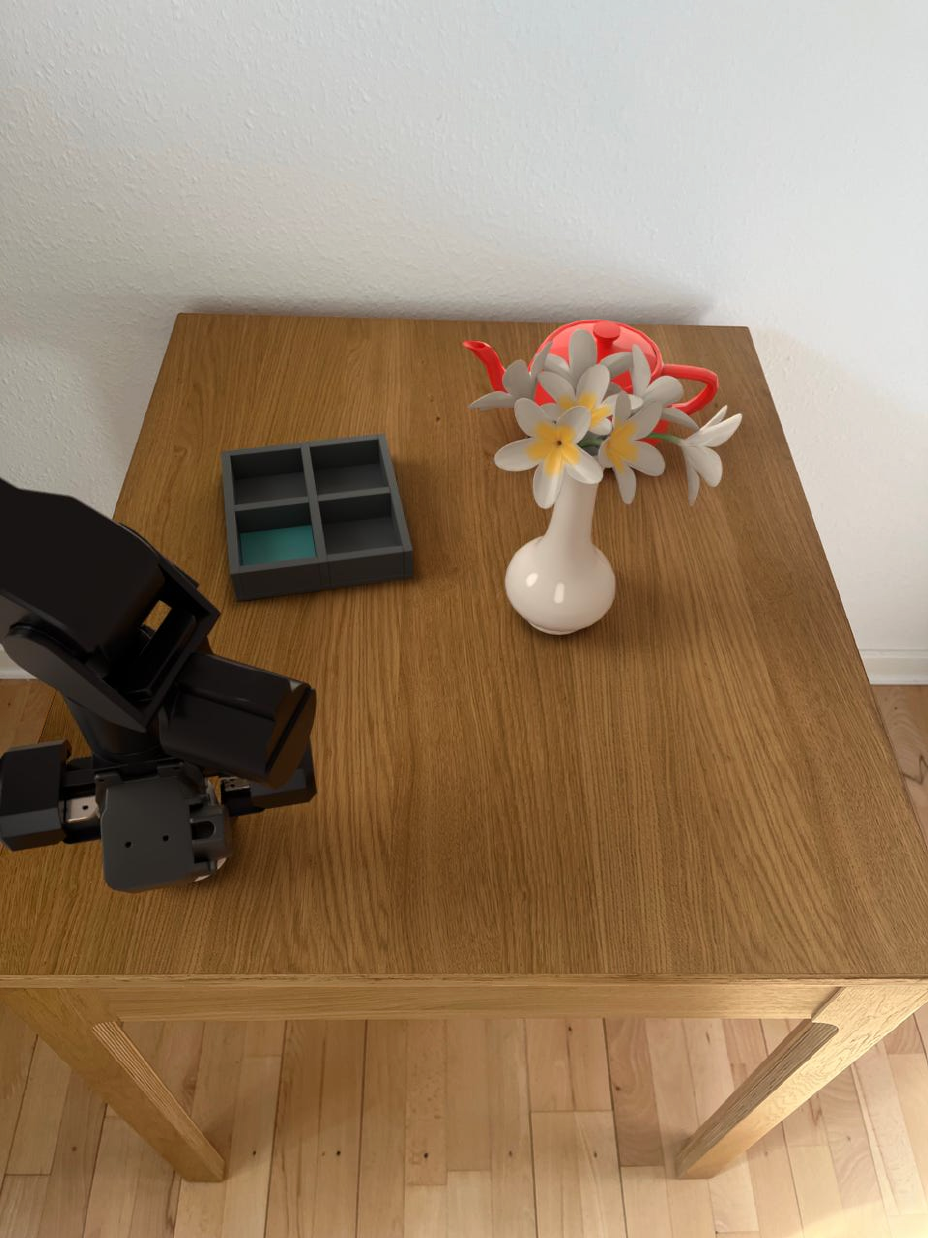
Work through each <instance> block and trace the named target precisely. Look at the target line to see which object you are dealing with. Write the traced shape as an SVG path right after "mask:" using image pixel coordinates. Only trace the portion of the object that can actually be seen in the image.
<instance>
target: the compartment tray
mask: <svg viewBox="0 0 928 1238" xmlns="http://www.w3.org/2000/svg"><path fill="white" fill-rule="evenodd" d="M220 459H221V473H222V485H223V487H222V488H223V500H224V511H225V526H226V538H227V552H228V553H227V554H228V563H229V564H228V566H229V577H230V580H231V584H232V588H233V592H234V596H235V601H236V602H242V601H250V600H258V599H265V598H274V597H280V596H281V597H282V596H288V595H289V596H290V595H296V594H303V593H312V592H319V591H325V590H333V589H340V588H348V587H355V586H362V585H363V586H364V585H370V584H378V583H384V582H385V583H386V582H393V581H401V580H409V579H413V578H414V550H413V545H412V540H411V536H410V532H409V529H408V524H407V523H408V522H407V520H406V515H405V511H404V506H403V502H402V498H401V494H400V489H399V485H398V482H397V477H396V473H395V469H394V463H393V461H392V460H393V459H392V456H391V452H390V448H389V443H388V439H387V436H386V433H378V434H377V433H375V434H374V433H373V434H365V435H364V434H363V435H356V436H355V435H354V436H346V437H340V438H339V437H337V438H328V439H320V440H319V439H318V440H311V441H301V442H293V443H283V444H274V445H273V444H272V445H266V446H265V445H264V446H256V447H255V446H254V447H247V448H239V449H236V448H235V449H230V450H229V449H228V450H221V451H220Z"/></svg>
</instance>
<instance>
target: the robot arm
mask: <svg viewBox="0 0 928 1238" xmlns="http://www.w3.org/2000/svg"><path fill="white" fill-rule="evenodd" d="M200 585H201V584H200V583H199V582H198V581H197V580H195V579H194V578H193V577H191V576H190V575H189V574H187V573H186V572H185V571H184V570H183V569H182V568H180V567H179V566H178V565H177V564H175V563H174V562H173V561H171V560H170V559H169V558H168V557H167V556H165V555H164V554H163V553H162V552H160V551H159V550H158V549H156V547H155V546H154V545H152V544H151V542H150V541H148V539H146V538H145V537H144V536H143V535H142V534H140V533H139V532H138V531H137V530H135V529H133V528H132V527H130V526H128V525H126V524H124V523H122V522H118V521H115V520H114V519H112V518H110V517H109V516H107V515H106V514H104V513H102V512H101V511H99V510H97V509H96V508H95V507H93V506H91V505H89V504H87V503H86V502H84V501H83V500H81V499H79V498H77V497H76V496H73V495H69V494H63V493H58V492H57V493H56V492H51V491H44V490H37V489H29V488H23V487H18V486H16V485H15V484H13V483H12V482H10V481H9V480H8V479H5V478H4V477H2V476H0V645H1V646H2V648H3V649H4V653H6V655H7V656H8V658H10V660H12V661H13V662H14V663H15V664H16V665H17V666H18V667H20V669H22V670H24V672H26V673H28V674H29V675H32V676H33V677H34V678H36V679H37V680H39V681H41V682H43V683H44V684H45V685H48V686H49V687H50V688H52V689H54V690H56V691H57V692H59V693H60V695H61V697H62V700H63V701H64V703H65V704H66V707H67V708H68V710H69V712H70V714H71V716H72V718H73V719H74V721H75V723H76V725H77V727H78V729H79V731H80V732H81V734H82V736H83V738H84V740H85V742H86V744H87V746H88V748H89V749H90V751H91V755H88V756H82V757H76V758H72V759H70V760H69V761H68V762H67V760H68V759H69V758H71V756H72V753H73V747H72V745H71V743H70V741H69V740H68V738H63V739H57V740H50V741H45V742H37V743H31V744H30V743H29V744H25V745H18V746H11V747H9V748H8V749H7V750H5V751H4V752H3V754H2V755H1V757H0V843H1V844H2V845H3V846H4V847H5V848H7V849H8V850H10V852H13V853H14V852H21V851H26V850H33V849H37V848H45V847H50V846H56V845H58V844H60V843H61V842H62V843H64V845H65V844H66V845H77V844H82V843H83V844H84V843H88V842H89V843H90V842H94V841H100V840H101V855H102V869H103V872H102V873H103V879H104V882H105V884H106V885H107V886H108V887H109V888H110V889H111V890H114V891H116V892H122V893H126V894H141V893H145V892H149V891H151V892H152V891H156V890H160V889H167V888H171V887H178V886H186V885H189V884H192V883H194V881H195V880H196V879H198V878H199V877H203V876H208V875H210V876H213V875H218V870H219V869H217V863H218V861H219V860H220V859H223V858H226V859H227V858H232V856H233V854H234V853H233V852H234V851H233V850H234V848H233V839H232V838H233V837H232V832H233V830H234V827H235V825H236V823H237V821H238V819H239V818H240V817H243V816H250V815H255V814H260V813H263V812H265V811H266V810H271V809H272V810H273V809H277V808H283V807H291V806H295V805H301V804H307V803H310V802H311V801H312V800H313V799H314V798H315V796H316V795H317V794H318V787H317V778H316V770H315V764H314V756H313V755H314V754H313V748H312V740H311V735H312V731H313V728H314V723H315V719H316V713H317V704H318V702H317V701H318V700H317V698H318V697H317V691H316V690H317V689H316V688H314V687H312V686H311V685H310V683H309V682H305V681H303V680H299V679H296V678H294V677H290V676H287V675H284V674H281V673H277V672H273V671H271V670H267V669H265V668H262V667H261V668H260V667H257V666H254V665H251V664H248V663H244V662H241V661H237V660H234V659H231V658H228V657H225V656H222V655H219V654H216V653H215V652H213V650H212V647H211V645H210V640H209V638H208V636H209V634H210V633H211V631H212V630H213V628H214V627H215V625H216V623H217V622H218V621H219V619H220V617H221V615H222V613H221V611H220V610H219V609H218V608H217V607H216V606H215V604H213V603H212V602H211V601H210V600H209V599H208V598H207V597H206V596H205V595H204V594H203V593H202V592H201V591H200V590H199V587H200ZM159 602H162V603H163V604H164V605H166V606H168V607H169V608H170V610H169V611H168V613H167V614H166V616H165V617H164V619H163V620H162V621H161V623H160V624H159V625H158V627H157V629H154V628H152V627H151V626H149V625H148V624H145V622H146V620H147V619H148V618H149V617H150V615H151V613H152V611H153V610H154V609H155V608H156V606H157V605H158V603H159ZM214 777H218V782H219V788H220V803H219V805H214V806H213V805H211V799H210V795H209V793H206V789H207V788H208V781H209V779H208V778H214ZM211 874H212V875H211ZM208 877H209V876H208ZM195 882H196V881H195Z"/></svg>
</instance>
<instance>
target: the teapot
mask: <svg viewBox="0 0 928 1238" xmlns="http://www.w3.org/2000/svg"><path fill="white" fill-rule="evenodd" d="M577 329H585V330H587V331H588V332H590V334H591V335H592V336H593V338H594V340H595V342H596V347H597V362H596V364H599V363H600V361H601V360H602V359H604V358H605V357H607V356H610V355H612V354H615V353H620V352H630V353H633V350H632V348H633V345H634V344H635V345H637V346H638V347H639V348H640V349H641V351H642V352H643V354H644V355H645V357H646V359H647V361H648V364H649V367H650V371H651V380H650V382H649V385H650V384H651V383H653V381H655V380H656V379H658V378H660V377H663V376H671V377H673V378H675V379H677V380H678V379H680V380H689V381H695V382H700V383H702V384H706V385H705V386H704V388H703V389H702V390H701V391H700V392H698V394H697V395H696V396H694V397H693V398H691V399H689V400H688V401H687V402H684V403H682V402H681V403H673V404H671V405H669V406H667V407H666V408H676V409H679V410H681V411H682V412H684V413H685V414H687V415H688V416H689V417H690V416H692V415H693V414H695V413H697V412H700V411H701V410H703V409H704V408H706V407H707V405H709V404H710V403H711V402H712V401H713V400H714V398H715V396H716V394H717V392H718V390H719V389H720V388H719V387H720V382H719V377H718V375H717V374H716V373H715V372H713V371H712V370H709V369H707V368H705V367H698V366H692V365H686V364H685V365H683V364H672V363H664V361H663V356H662V353H661V351H660V348H659V347H658V345H657V344H656V342H654V341H653V339H651V338H650V337H649V336H648V335H646V334H645V333H644V332H643V331H641V330H638V329H636V328H634V327H632V326H631V325H628V324H625V323H622V322H618V321H617V322H616V321H611V320H606V319H584V320H580V319H579V320H576V321H573V322H570V323H567V324H563V325H560V326H559V327H558V328H557V329H555V330H554V331H552V333H551V334H549V335H548V336H547V337H546V339H544V341H543V342H542V344H541V345H540V346H539V348H538V350H537V351H536V352H535V354H534V355H536V354H538V353H539V352H540V351H541V350H542V349H543V348H544V347H545V346H546V345H547V344H548V343H549V342H550V341H552V340H553V344H552V346H551V348H550V351H549V353H551V354H554V355H557V356H559V357H561V358H563V359H564V360H565V361H566V362H567V364H568V366H569V341H570V338H571V335H572V334H573V332H575V331H576V330H577ZM461 344H462V345H463V346H464V347H465V348H466V349H468V350H470V351H471V352H472V354H474V355H475V356H476V358H477V359H479V360H480V361H481V362H482V364H484V366H485V369H486V372H487V375H488V378H489V382H490V386H491V387H492V389H493V392H496V391H502V392H505V393H507V394H509V393H508V392H507V391H506V389H505V388H504V386H503V383H502V378H503V375H504V372H505V371H506V368H505V367H504V366H503V365H502V363H501V360H500V358H499V356H498V353H496V352H495V350H494V349H493V348H492V347H491V345H490V344H488V343H486V342H482V341H477V340H465V341H464V342H462V343H461ZM533 359H534V356H533V357H532V359H531V360H530V362H529V364H528V365H527V369H528V372H530V368H531V365H532V363H533V361H534V360H533ZM569 368H570V366H569ZM633 368H634V366H633ZM542 371H544V370H543V369H542ZM610 382H613V383H615V384H617V385H619V386H620V387H621V388H622V390H623V391H625V392H626V393H627V394H631V395H633V384H632V380H631V376H630V372H629V370H627V371H626V372H624V373H622V374H621V375H619V376H617V377H615V378H613V379H612V380H611V381H610ZM649 385H648V386H649ZM604 400H605V399H603V401H604ZM534 401H535V403H536V404H537V405H538V406H542V405H544V404H547V403H555V404H557V403H556V402H555V400H554V399H553V398H552V397H551V396H550V395H549V394H548V393H547V391H546V390H545V389H544V388H543V387H542V386H541V384H540V383H539V381H538V384H537V388H536V392H535V399H534ZM603 401H602V402H603ZM511 409H512V410H514V411H515V408H511ZM663 409H665V408H663ZM608 419H609V420H610V421H611V422H612V417H610V418H608ZM670 423H671V422H669V421H666V420H662V419H659V421H658V423H657V425H656V426H655V428H654V429H653V430H652V432H657V433H663V434H667V432H668V430H669V426H670ZM529 438H534V437H531V436H529ZM635 441H641V442H646V443H648V444H650V445H652V446H654V447H655V448H656V446H657V445H658V444H659V443H660V442H661V441H662V440H660V439H639V440H635Z"/></svg>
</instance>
